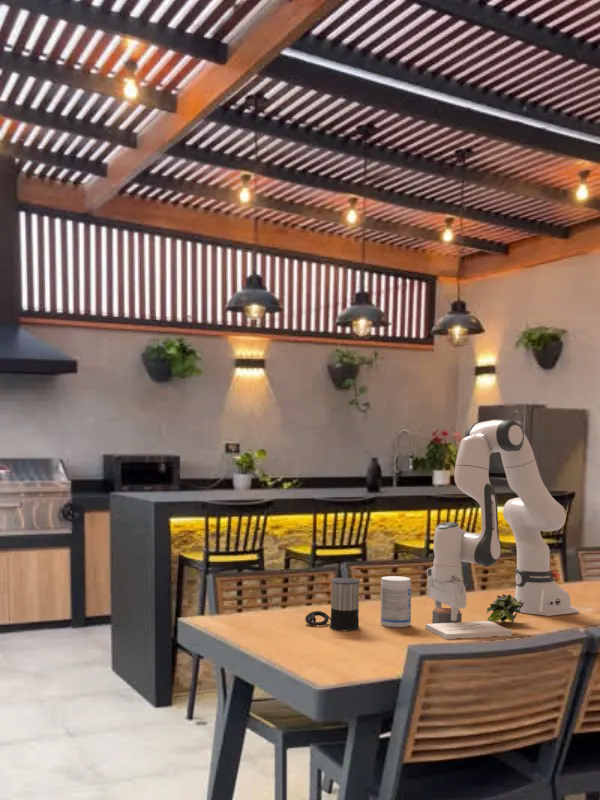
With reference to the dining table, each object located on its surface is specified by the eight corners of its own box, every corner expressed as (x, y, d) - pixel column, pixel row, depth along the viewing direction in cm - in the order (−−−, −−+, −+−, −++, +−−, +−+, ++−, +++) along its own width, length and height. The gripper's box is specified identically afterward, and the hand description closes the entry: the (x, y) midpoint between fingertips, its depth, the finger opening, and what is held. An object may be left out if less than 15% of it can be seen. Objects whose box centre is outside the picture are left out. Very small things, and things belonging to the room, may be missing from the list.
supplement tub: (415, 628, 261) (415, 580, 262) (386, 628, 259) (387, 580, 259) (404, 621, 270) (405, 575, 271) (376, 622, 268) (377, 575, 269)
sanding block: (455, 622, 271) (455, 607, 271) (461, 625, 266) (461, 610, 267) (432, 623, 269) (432, 608, 269) (438, 626, 265) (438, 611, 265)
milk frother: (362, 631, 255) (363, 582, 256) (312, 632, 252) (313, 582, 253) (351, 621, 269) (351, 574, 270) (302, 622, 266) (303, 575, 267)
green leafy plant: (502, 638, 273) (518, 606, 277) (520, 639, 263) (536, 606, 267) (475, 619, 272) (491, 587, 276) (492, 619, 262) (508, 586, 266)
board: (488, 625, 267) (488, 620, 267) (512, 635, 253) (512, 630, 253) (425, 628, 260) (425, 623, 260) (446, 639, 247) (446, 634, 247)
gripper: (471, 578, 260) (471, 623, 259) (441, 568, 279) (440, 610, 278) (453, 579, 258) (452, 624, 257) (424, 569, 277) (423, 611, 277)
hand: (446, 617), depth 268 cm, fingers open, 8 cm apart
